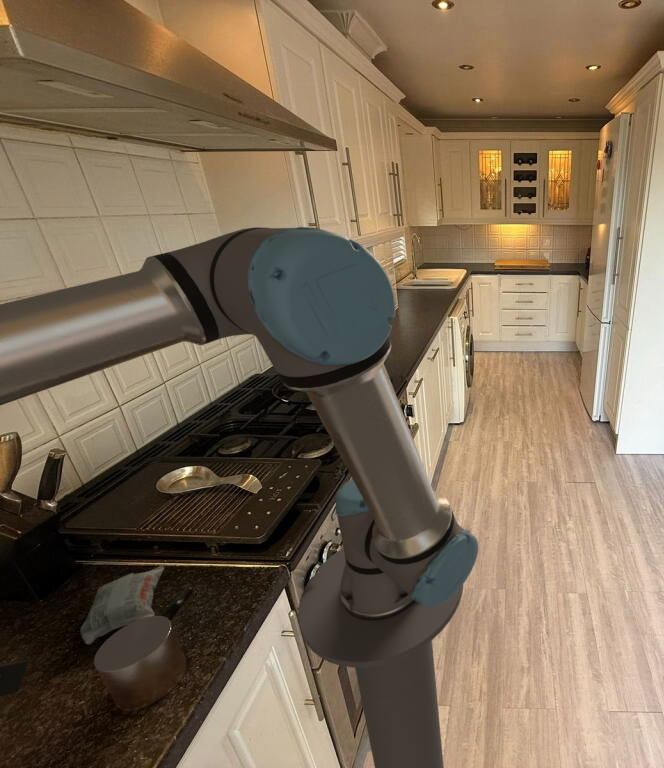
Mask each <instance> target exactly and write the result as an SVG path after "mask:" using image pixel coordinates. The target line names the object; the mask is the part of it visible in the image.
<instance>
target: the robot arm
mask: <svg viewBox="0 0 664 768" xmlns="http://www.w3.org/2000/svg"><path fill="white" fill-rule="evenodd" d="M395 297H396V296H395V292H394V288H393V285H392V282H391V279H390V277H389V275H388V273H387V271H386V270H385V268H384V266H383V265H382V263H381V262H380V261H379V260H378V258H377V257H376V256H375V255H374V254H373V253H372V252H371V251H370V250H369V249H368V248H366V247H365V246H364V245H362V244H361V243H358V242H357V241H355V240H354V239H352V238H350V237H348V236H346V235H342V234H339V233H335V232H331V231H328V230H324V229H322V228H317V227H310V226H309V227H307V226H297V227H261V226H260V227H258V226H257V227H254V226H253V227H248V228H242V229H238V230H235V231H232V232H228V233H225V234H222V235H219V236H216V237H213V238H211V239H208V240H205V241H202V242H199V243H196V244H192V245H189V246H185V247H182V248H179V249H175V250H171V251H168V252H163V253H159V254H155V255H150V256H147V257H146V258H145V260H144V262H143V264H142V266H141V268H140V269H139V270H137V271H131V272H129V273H125V274H121V275H117V276H112V277H107V278H104V279H99V280H95V281H91V282H86V283H82V284H79V285H75V286H71V287H66V288H62V289H58V290H53V291H49V292H45V293H41V294H38V295H33V296H28V297H24V298H20V299H16V300H13V301H9V302H4V303H0V406H4V405H7V404H9V403H11V402H12V403H13V402H14V401H18V400H20V399H23V398H26V397H29V396H32V395H35V394H38V393H41V392H43V391H46V390H49V389H53V388H55V387H57V386H61V385H63V384H66V383H69V382H72V381H75V380H78V379H80V378H83V377H85V376H86V377H87V376H89V375H93V374H94V373H97V372H100V371H103V370H105V369H108V368H111V367H114V366H115V367H116V366H117V365H120V364H122V363H126V362H128V361H132V360H135V359H138V358H140V357H143V356H146V355H148V354H151V353H155V352H157V351H160V350H163V349H166V348H168V347H171V346H174V345H175V346H176V345H178V344H180V343H183V342H185V343H191V344H194V345H197V346H205V345H207V344H210V343H212V342H215V341H218V340H221V339H225V338H229V337H235V336H244V335H252V336H255V337H256V339H257V341H258V343H259V345H260V346H261V348H262V350H263V351H264V353H265V354H266V356H267V358H268V360H269V361H270V363H271V365H272V366H273V368H274V370H275V372H276V375H278V377H279V379H280V381H281V382H282V384H283V385H284V386H285V387H286V388H288V389H289V390H293V391H298V392H302V393H306V394H307V396H308V399H309V401H310V402H311V404H312V406H313V408H314V409H315V412H316V413H317V415H318V418H319V419H320V421H321V423H322V424H323V426H324V428H325V430H326V432H327V434H328V436H329V437H330V439H331V441H332V444H333V445H334V447H335V449H336V451H337V453H338V455H339V456H340V459H341V460H342V462H343V464H344V466H345V467H346V469H347V472H348V473H349V475H350V477H351V479H349V480H348V481H346V482H344V484H342V485H341V486H340V488H339V489H338V491H337V493H336V495H335V499H334V501H335V515H336V516H337V521H338V527H339V532H340V533H339V534H340V537H341V543H342V548H344V553H345V558H346V564H345V568H344V572H343V576H342V581H341V589H340V593H341V601H342V603H343V606H344V608H345V609H346V610H347V611H348V613H350V614H351V615H352V616H354V617H356V618H359V619H362V620H369V621H376V620H383V619H387V618H390V617H393V616H395V615H398V614H400V613H401V612H403V611H405V610H406V609H408V608H409V607H410V606H411V605H412V604H413V603H414V602H415V601H418V602H419V603H421V604H422V605H423V606H425V607H436V606H438V605H440V604H442V603H445V602H446V601H447V600H449V599H450V598H451V597H452V596H453V595H454V594H455V593H456V592H457V591H458V590H459V589H460V588H461V586H462V585H463V586H464V584H465V582H466V581H467V580H468V577H469V576H470V574H471V572H472V571H473V568H474V566H475V564H476V563H477V558H478V554H479V541H478V538H477V537H476V536H475V535H474V534H472V533H471V531H470V530H469V529H465V528H464V527H462V526H461V525H459V523H458V522H457V520H456V517H455V514H454V511H453V508H452V506H451V504H450V502H449V500H448V499H447V497H445V495H443V494H441V493H440V492H438V491H435V490H434V489H433V487H432V484H431V482H430V479H429V476H428V474H427V471H426V469H425V466H424V463H423V461H422V458H421V456H420V453H419V451H418V448H417V445H416V443H415V440H414V438H413V435H412V433H411V431H410V428H409V425H408V422H407V419H406V417H405V415H404V412H403V409H402V407H401V405H400V402H399V399H398V397H397V394H396V392H395V389H394V386H393V384H392V381H391V379H390V376H389V373H388V371H387V368H386V366H385V364H384V363H385V361H386V360H387V357H388V356H389V354H390V353H391V350H392V343H391V339H390V337H389V336H390V334H391V332H392V329H393V326H392V325H391V323H392V322H391V321H392V319H394V318H395V317H396V298H395ZM29 664H30V659H28V660H27V659H26V660H12V661H8V662H3V663H0V697H6V696H9V695H12V694H15V693H18V692H19V691H20V689H21V688H20V687H22V682H23V680H24V678H25V675H26V673H27V669H28V667H29Z"/></svg>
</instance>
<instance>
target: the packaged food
mask: <svg viewBox="0 0 664 768" xmlns="http://www.w3.org/2000/svg"><path fill="white" fill-rule="evenodd" d="M164 570H165V566H164V565H160V566H157V567H156V568H153V569H151V570H149V571H144V572H139V573H135V572H131V573H129V574H126V575H123V576H121V577H120V578H117V579H115V580H112V581H111V582H108V583H106V584H103V585H102V586H100V587H99V588H98V589H97V592H96V594H95V598H94V601H93V603H92V605H91V607H90V610H89V612H88V615H87V617H86V619H85V620H84V622H83V623H82V625H81V626H80V637H81V639H82V640H83V642H84V643H85V644H86V645H91V644H92V643H94V642H95V640H96V639H97V638H99V637H103V636H104V635H107V634H108V633H110V632H112V631H114V630H118V629H121V628H123V627H125V626H127V625H129V624H131V623H133V622H135V621H137V620H140V619H143V618H146V617H151V616H156V615H155V614H156V613H155V612H154V610H153V608H152V604H153V599H154V592H155V590H156V587H157V585H158V583H159V580H160V578H161V576H162V574H163V572H164Z"/></svg>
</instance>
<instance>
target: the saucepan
mask: <svg viewBox="0 0 664 768" xmlns="http://www.w3.org/2000/svg"><path fill="white" fill-rule="evenodd" d="M193 593H194V587H193V586H186V587H185V588H184V589H182V591H181V592H180V593H179V594H178V595H177V597H176V598H175V599H174V600H173V602H172V603H171V604H170V605H169V607H168V608H167V609H166V610H165V611H164V613H163V614H162V615H155V616H151V617H146V618H143V619H140V620H137V621H135V622H133V623H131V624H129V625H126V626H123V627H121V628H119V630H117V631H116V632H115V633H113V634H112V635H111V636H109V637H108V638H107V639H106V640H105V641H104V642H103V644H101V646H100V647H99V649H98V650H97V652H96V653H95V656H94V659H93V664H94V665H93V666H94V667H95V669H96V671H97V673H98V675H99V676H100V678H101V680H102V683H103V684H104V686H105V687H106V690H107V691H108V692H109V695H110V697H111V698H112V700H113V702H114V704H115V706H116V707H117V708H118V709H119V710H121V711H124V712H132V711H138V710H141V709H144V708H147V707H148V706H149V707H150V706H151V705H153V704H155V703H156V702H158V701H160V700H161V699H163V698H164V697H165V696H166V695H168V694H169V693H170V692H171V691H172V690H174V688H175V687H176V686H177V685H178V684H179V683H180V681H182V678H183V677H184V676H185V673H186V670H187V666H188V661H187V658H186V655H185V653H184V650H183V648H182V646H181V644H180V641H179V638H178V637H177V634H176V632H175V629H174V627H173V624H172V622H171V621H172V620H173V618H174V617H175V616H176V614H177V613H179V611H180V610H181V608H182V607H183V606H184V604H185V603H186V602H187V600H189V598H190V597H191V595H193Z"/></svg>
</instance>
